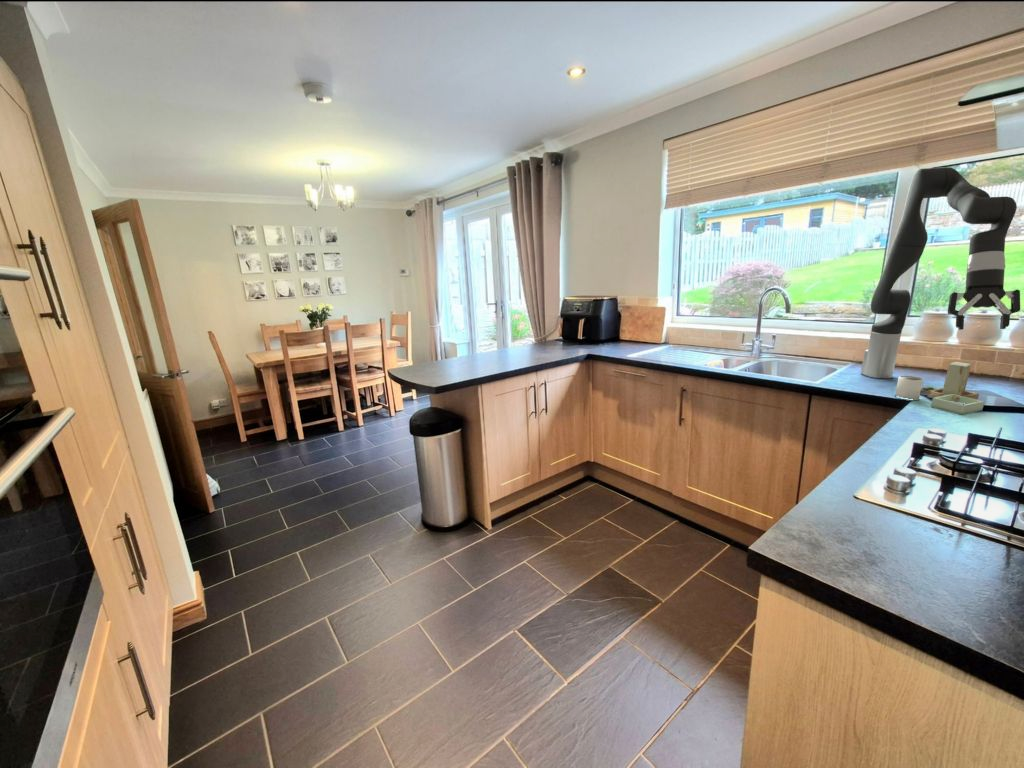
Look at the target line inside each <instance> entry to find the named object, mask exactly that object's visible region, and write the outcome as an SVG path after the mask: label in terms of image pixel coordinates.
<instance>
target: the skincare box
mask: <svg viewBox="0 0 1024 768" xmlns="http://www.w3.org/2000/svg"><path fill="white" fill-rule="evenodd" d="M971 368H972V363H965V362H960V361H954V362H951V363H949V364H948V367H947V372H946V375H945V380H944V384H943V387H942V388H943V391H942V393H943V394H947V395H949V394H955V395H959V396H964V392H965V391H966V388H967V383H968V379H969V376H970V371H971Z"/></svg>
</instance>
